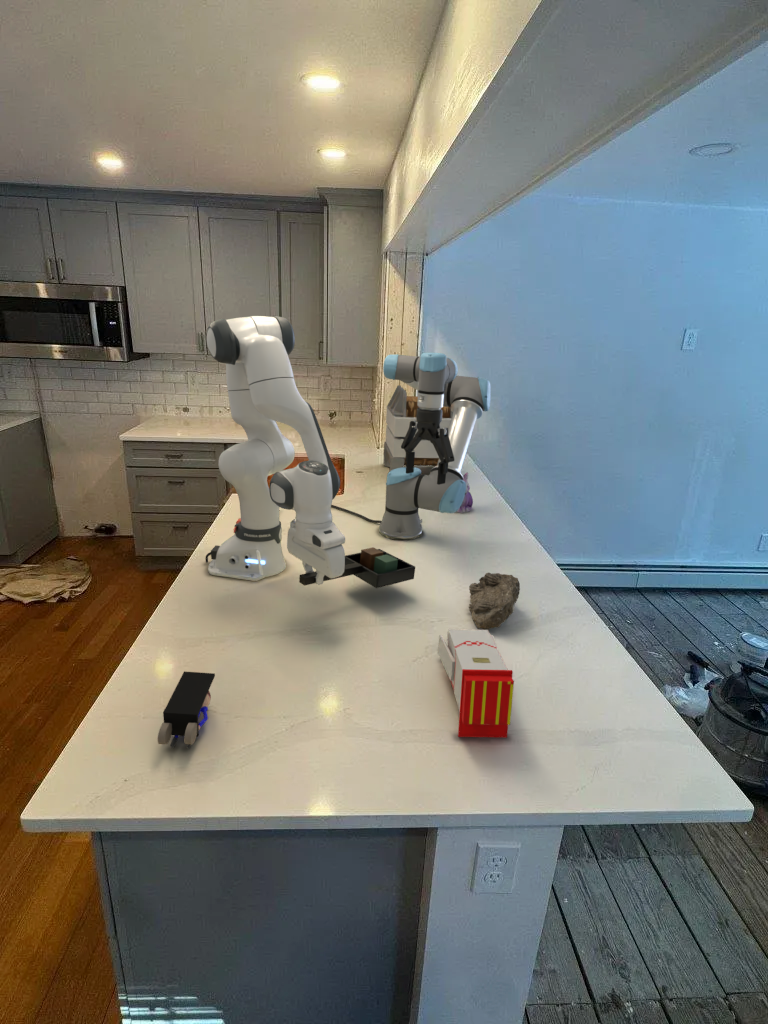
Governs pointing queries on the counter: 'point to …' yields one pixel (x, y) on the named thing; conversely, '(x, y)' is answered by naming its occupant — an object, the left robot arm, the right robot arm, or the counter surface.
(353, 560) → the pan
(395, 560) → the green block
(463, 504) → the figurine
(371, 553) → the walnut block
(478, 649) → the toy
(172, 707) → the figurine character
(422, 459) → the transformer
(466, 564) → the counter surface
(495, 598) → the fossil
